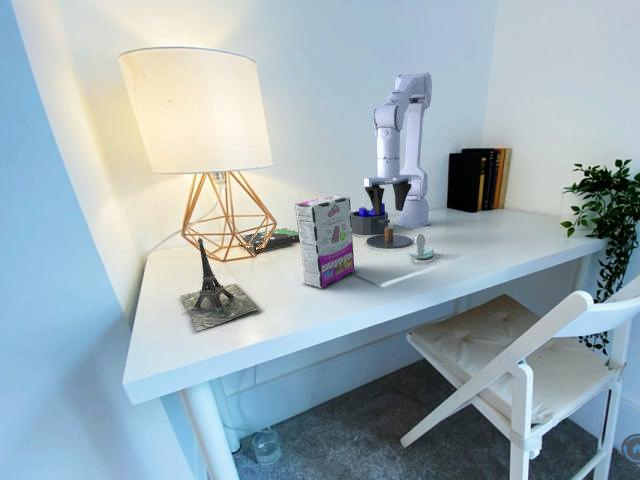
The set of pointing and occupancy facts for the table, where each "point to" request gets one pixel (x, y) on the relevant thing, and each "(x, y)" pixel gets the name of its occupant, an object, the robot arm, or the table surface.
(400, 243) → the lid
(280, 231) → the disk drive
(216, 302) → the eiffel tower figurine
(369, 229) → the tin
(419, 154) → the robot arm
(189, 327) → the table surface
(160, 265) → the table surface
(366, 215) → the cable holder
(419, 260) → the pacifier
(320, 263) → the candy bar box
